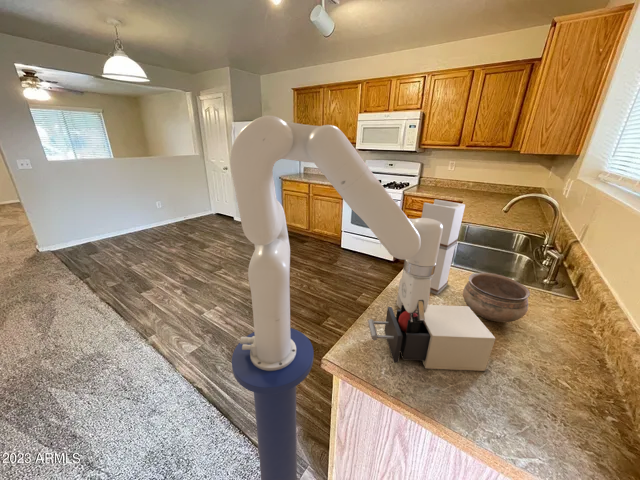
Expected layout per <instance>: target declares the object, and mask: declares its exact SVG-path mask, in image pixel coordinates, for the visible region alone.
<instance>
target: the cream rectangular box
mask: <svg viewBox="0 0 640 480" xmlns="http://www.w3.org/2000/svg"><path fill="white" fill-rule="evenodd" d="M415 310H417V308H416V309H415ZM424 316H425V321H423V322H424V324H425V326H426V328H427V330H428V332H429V334H430V336H431V337H430V342H429V346H428V351H427V355H426V360H425V361H424V360H421V362H422V364H423V367H424V368H425V369H432V370H434V369H435V370H457V371H476V372H477V371H481V372H486V369H487V367H488V364H489V360H490V357H491V354H492V351H493V348H494V344H495V342H496V337H495V336H494V335H493V333H492V332H491V331H490V330H489V329H488V327H487V326H486V325H485V324H484V323H483V322H482V320H481V319H480V318H479V317H478V316H477V314H476V313H475V312H474V311H472V310H471V309H470V308H469V306H467V305H449V304H447V305H446V304H445V305H444V304H428V307H427V310H426V312H425V313H424Z"/></svg>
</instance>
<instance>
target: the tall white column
mask: <svg viewBox="0 0 640 480" xmlns="http://www.w3.org/2000/svg"><path fill="white" fill-rule="evenodd" d="M465 208H466V204H465V203H459V202H453V201H448V200H441V199H437V198H436V199H434V200H433V203H429V202H423V206H422V213H421V218H429V219H434V220H437V221H439V222H440V223H441V224H442V226H443V232H442V237H441V242H440V247H439V252H438V256H437V261H436V266H435V271H434V276H433V277H432V278H431V287H430V294H434V295H439V294H440V293H441V292H442V291H443V290H444V289H445V288H446V287H447V286H448V283H449V276H450V271H451V266H452V262H453V258H454V253H455V249H456V247H457V244H458V239H459V235H460V230H461V225H462V221H463V218H464V213H465Z"/></svg>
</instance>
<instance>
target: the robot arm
mask: <svg viewBox="0 0 640 480" xmlns="http://www.w3.org/2000/svg"><path fill="white" fill-rule="evenodd" d="M229 157H230V158H229V163H230V171H231V177H232V182H233V186H234V192H235V197H236V202H237V206H238V207H237V208H238V213H239V217H240V222H241V229H242V232H243V234H244V236H245V237H246V239H247V240H248V241H249V242H250V243H252V244H253V246H254V251H253V253H252V256H251V257H250V260H249V264H248V269H247V278H248V284H249V289H250V296H251V307H252V316H253V317H252V319H253V330H254V331H253V332H254V333H255V336H253V337H246V336H241V337H240V340H239V343H240V344H243V346H242V350H251V351H250V358H251V361H252V363H253V364H254V365H255V366H256V367H257V368H259V369H262V370H266V371H274V370H279V369H282V368H284V367H286V366H288V365H289V364H290V363H291V362H292V361H293V360H294V358H295V356H296V345H295V343H294V341H293V340H292V339H291V336H290V328H291V289H290V288H291V287H290V278H291V277H290V276H291V274H290V273H291V246H290V245H291V244H290V238H289V232H288V226H287V218H286V213H285V210H284V207H283V205H282V204H281V202H280V201H279V200H278V198H277V194H276V184H275V179H274V173H273V172H274V171H273V170H274V166H275V164H276V163H277V161H278V162H279V160H289V161H294V162H304V163H313V164H314V165H315V166H316V167H317V168H318V170H319V171H320V173H321V174H322V175H323V176H324V177H325V178H326V179H327V181H328V182H329V183H330V185H331V186H332V187H333V188H334V190H335V191H336V192H337V193H338V194H339V197H341V199H342V200H343V201H344V202H345V203H346V205H347V206H348V207H349V208H350V210H352V211H353V212H354V213H355V214H356V215H357V216H358V217H359V218H360V220H361V221H363V222H364V224H365V225H366V226H367V228H368V229H370V231H371V232H372V233H373V235H374V236H375V237H376V238H377V240H378V241H379V243H381V245H382V246H383V247H384V248H385V250H386V251H387V252H388V253H389V254H390V255H391V257H393V258H395V259H398V260H403V261H404V262H403V268H402V274H401V278H400V279H401V283H400V282H399V284H400V287H399V286H398V290H399V297H400V299H401V301H402V306H401V309H400V310H401V312H400V315H401V314H402V313H403V312H404V311H407V312H408V313H410V320H408V323H407V329H406V332H407V333H419V329H420V324H421V322H422V321H425V316H424V313H425V312H426V310H427V307H428V305H429V302H430V294H431V292H430V287H431V278H432V277H433V276H434V271H435V266H436V261H437V256H438V252H439V247H440V242H441V237H442V232H443V226H442V224H441V223H440V222H439V221H437V220H434V219H429V218H422V217H418V218H408V216H407V215H406V213H405V212H404V211H403V210H402V208H401V207H400V205H398V204H397V202H396V201H395V200H394V199H393V197H392V196H391V195H390V193H389V192H388V191H387V190H386V188H385V187H384V185H383V184H382V183H381V182H380V180H379V179H378V178H377V177H376V175H375V174H374V173H373V172H372V170H371V169H370V168H369V166H368V165H367V163H366V162H365V161H364V159H363V158H362V156H361V155H360V154H359V152H358V151H357V149H356V148H355V147H354V146H353V144H352V143H351V141H350V140H349V139H348V137H347V136H346V135H345V133H344V132H343V131H342V130H341V129H340V128H339V127H337V126H336V125H333V124H323V125H311V124H303V123H298V122H292V121H286V120H283V119H282V118H280V117H278V116H277V115H269V114H267V115H262V116H260V117H257V118H255V119H253V120H252V121H251V122H249V123H248V124H246V125H245V126H244V127H243V128H242V129H241V130H240V131H239V133H238V134H237V135H236V137H235V139H234V141H233V144H232V146H231V150H230V156H229ZM416 308H417V310H415V309H416ZM413 313H418V316H417V317H413ZM246 344H251V345H246Z"/></svg>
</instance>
